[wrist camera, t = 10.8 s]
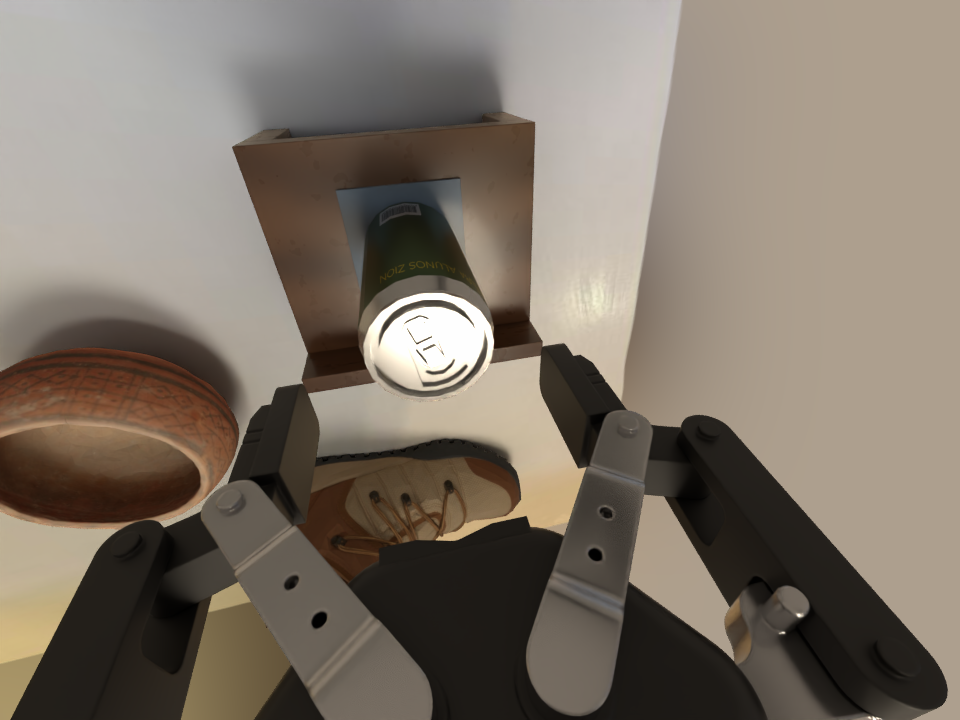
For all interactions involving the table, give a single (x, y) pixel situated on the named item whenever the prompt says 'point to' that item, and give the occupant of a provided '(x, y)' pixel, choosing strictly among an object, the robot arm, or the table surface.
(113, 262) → the table surface
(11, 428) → the bowl
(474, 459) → the shoe
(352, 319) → the wooden stand with backboard
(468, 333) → the beer can
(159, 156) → the table surface
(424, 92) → the table surface
